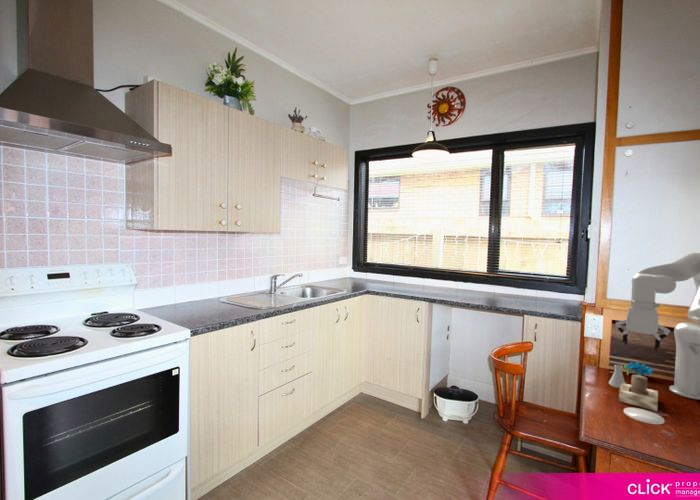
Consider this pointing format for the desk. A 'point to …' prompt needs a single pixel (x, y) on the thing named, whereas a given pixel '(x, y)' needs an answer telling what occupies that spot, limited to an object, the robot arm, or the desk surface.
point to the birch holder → (638, 397)
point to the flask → (617, 377)
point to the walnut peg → (639, 384)
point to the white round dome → (644, 415)
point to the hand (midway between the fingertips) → (640, 346)
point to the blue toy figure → (638, 369)
